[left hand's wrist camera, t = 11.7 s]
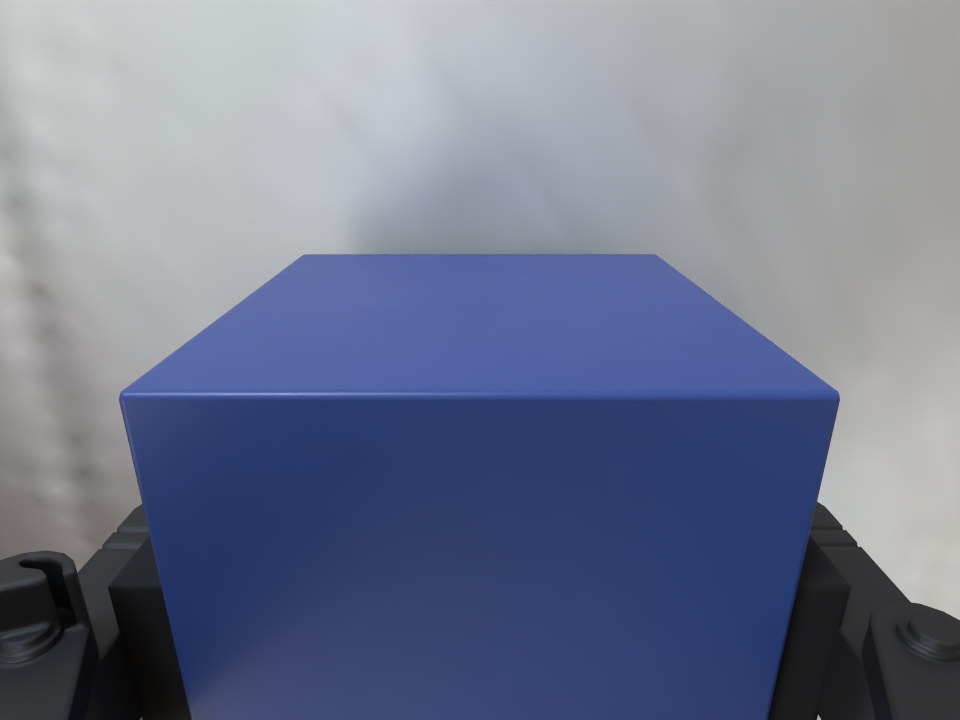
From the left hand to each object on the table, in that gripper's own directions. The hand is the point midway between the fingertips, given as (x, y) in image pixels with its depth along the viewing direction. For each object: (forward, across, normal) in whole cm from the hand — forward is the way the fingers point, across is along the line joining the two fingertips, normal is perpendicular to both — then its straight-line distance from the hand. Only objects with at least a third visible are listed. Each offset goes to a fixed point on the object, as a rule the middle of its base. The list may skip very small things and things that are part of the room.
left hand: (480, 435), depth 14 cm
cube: (+1, 0, 0) cm, 1 cm away
